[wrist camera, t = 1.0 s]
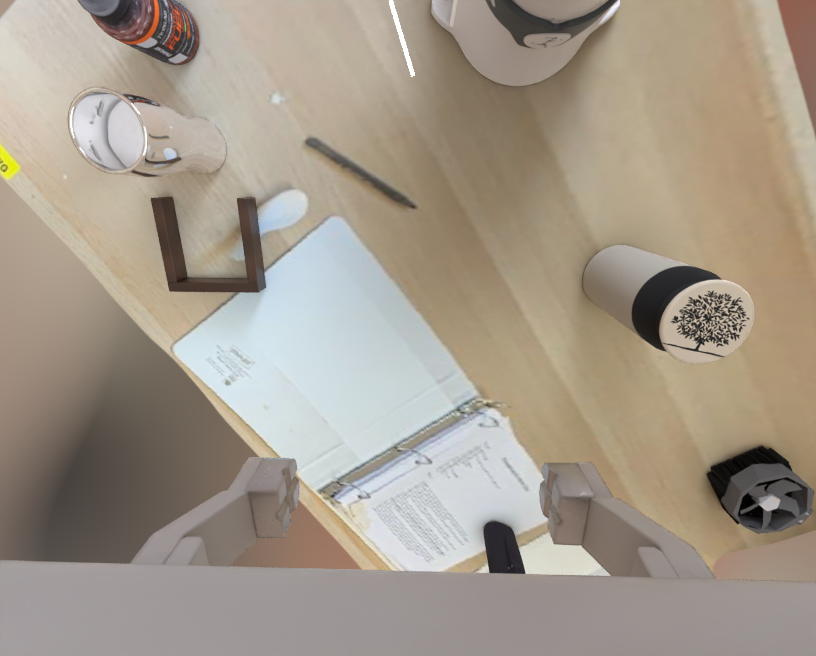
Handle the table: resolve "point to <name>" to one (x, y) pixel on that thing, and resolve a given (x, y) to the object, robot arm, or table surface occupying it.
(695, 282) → the travel mug
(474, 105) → the table surface
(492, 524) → the two-way radio
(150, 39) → the supplement bottle
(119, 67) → the table surface
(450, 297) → the table surface
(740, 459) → the cpu cooler
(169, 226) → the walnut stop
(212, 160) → the beer glass
